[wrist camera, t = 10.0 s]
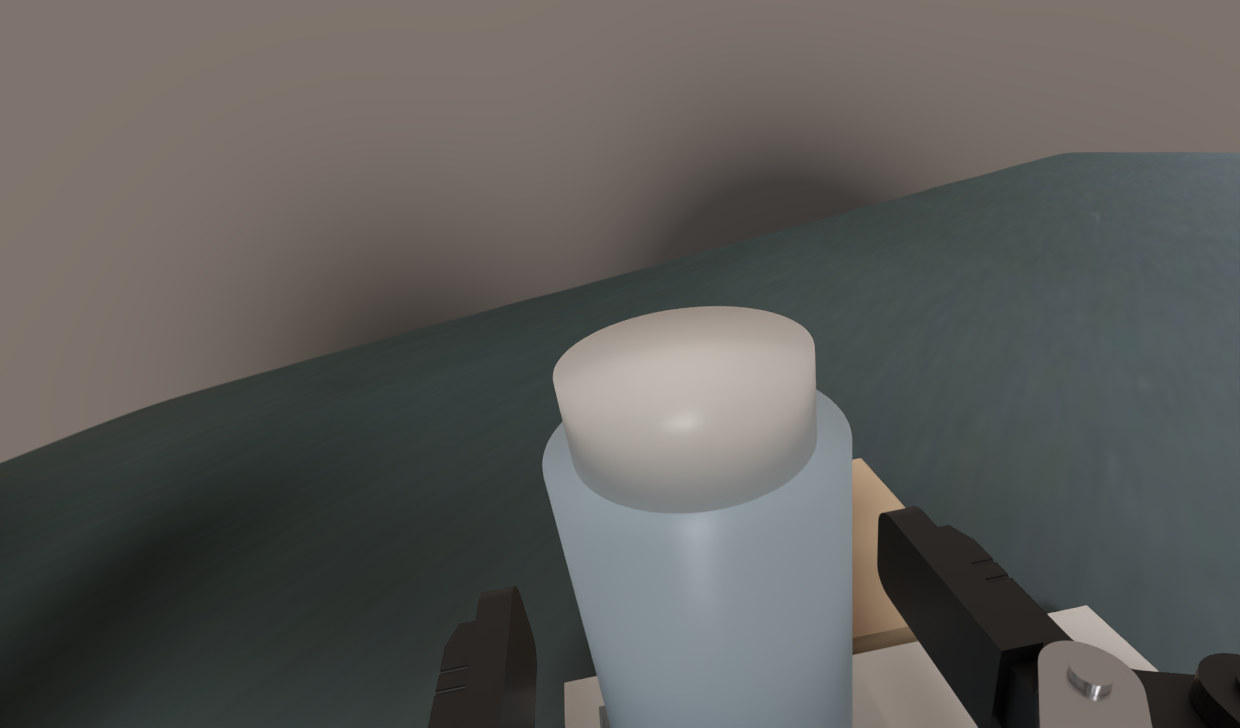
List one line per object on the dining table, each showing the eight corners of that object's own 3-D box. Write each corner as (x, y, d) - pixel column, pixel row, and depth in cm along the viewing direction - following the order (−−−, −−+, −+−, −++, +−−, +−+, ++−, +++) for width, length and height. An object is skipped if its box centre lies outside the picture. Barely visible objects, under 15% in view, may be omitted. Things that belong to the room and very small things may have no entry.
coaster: (727, 684, 21) (725, 665, 21) (675, 511, 30) (672, 496, 30) (992, 628, 21) (994, 608, 21) (860, 473, 30) (860, 458, 30)
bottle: (671, 1023, 13) (509, 476, 7) (640, 780, 17) (527, 328, 11) (894, 972, 13) (930, 390, 7) (804, 744, 17) (778, 280, 11)
